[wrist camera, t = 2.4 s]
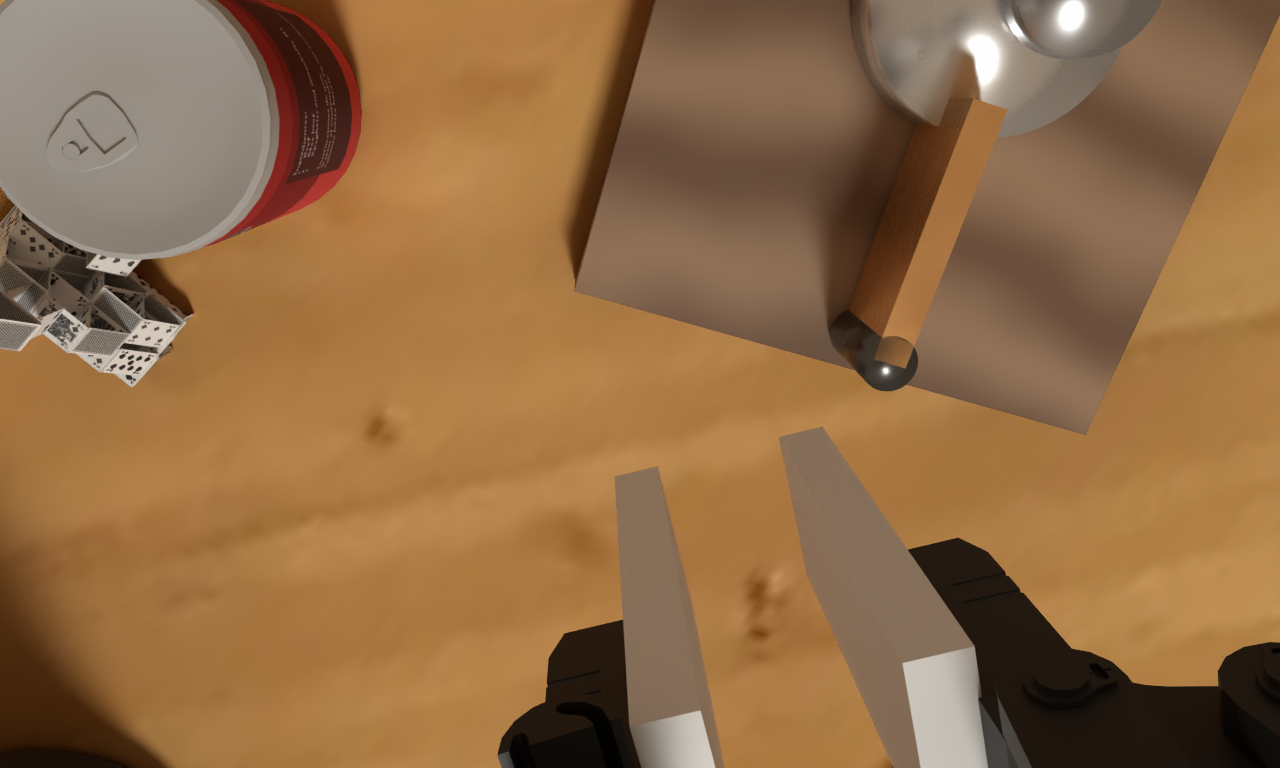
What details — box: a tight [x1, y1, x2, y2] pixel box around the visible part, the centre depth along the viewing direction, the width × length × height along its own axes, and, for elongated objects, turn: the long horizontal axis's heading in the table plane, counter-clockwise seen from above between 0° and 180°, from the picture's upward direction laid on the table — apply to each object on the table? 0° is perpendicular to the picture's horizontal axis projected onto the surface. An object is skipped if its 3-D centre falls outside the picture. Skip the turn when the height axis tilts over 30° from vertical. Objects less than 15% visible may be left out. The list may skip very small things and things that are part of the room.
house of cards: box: [0, 205, 194, 388], centre depth 33 cm, size 9×9×8 cm
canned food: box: [0, 0, 362, 260], centre depth 30 cm, size 8×8×11 cm
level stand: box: [574, 0, 1280, 435], centre depth 34 cm, size 24×22×2 cm
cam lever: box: [830, 0, 1162, 391], centre depth 32 cm, size 18×12×5 cm
